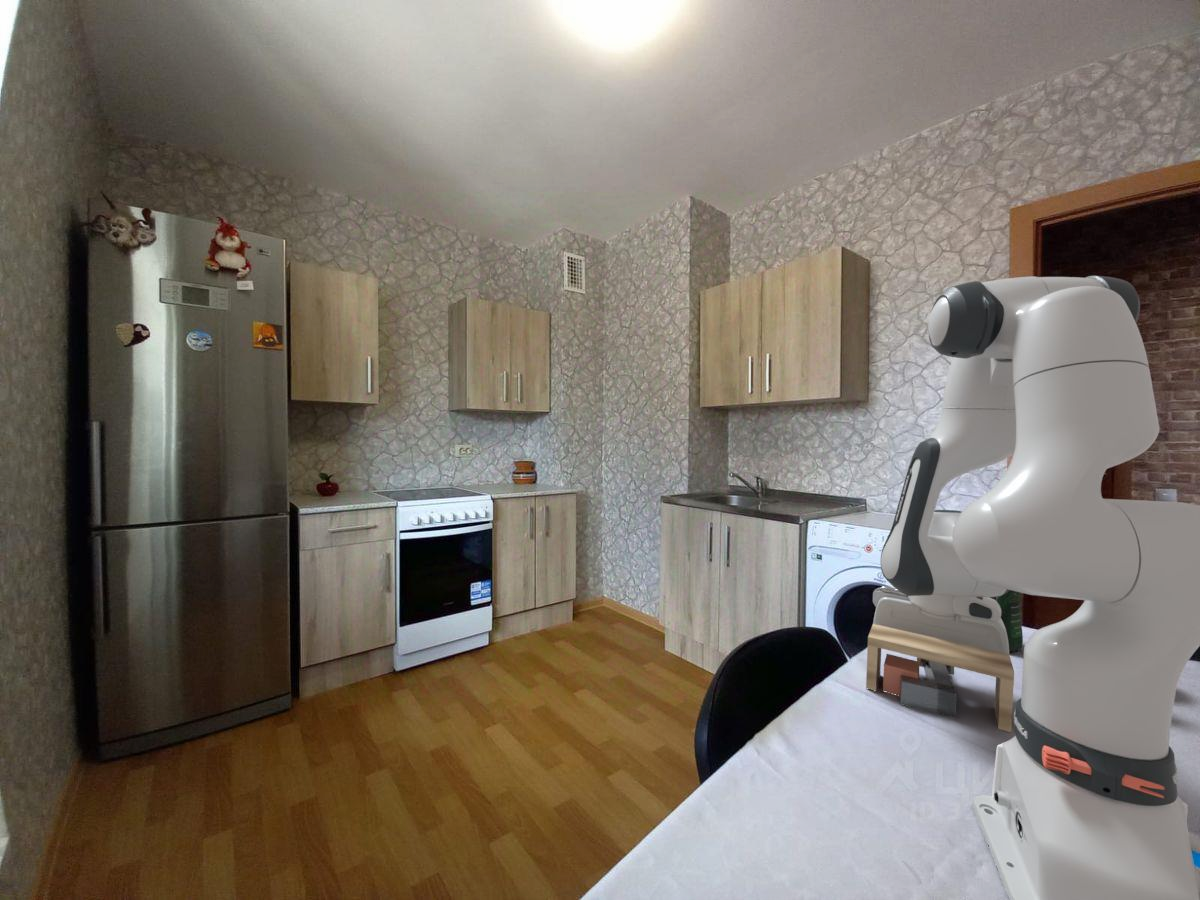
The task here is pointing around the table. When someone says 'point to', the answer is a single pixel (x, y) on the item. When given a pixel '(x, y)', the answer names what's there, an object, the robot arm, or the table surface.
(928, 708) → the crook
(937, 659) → the bridge
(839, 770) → the table surface
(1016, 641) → the coffee jar
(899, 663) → the block
